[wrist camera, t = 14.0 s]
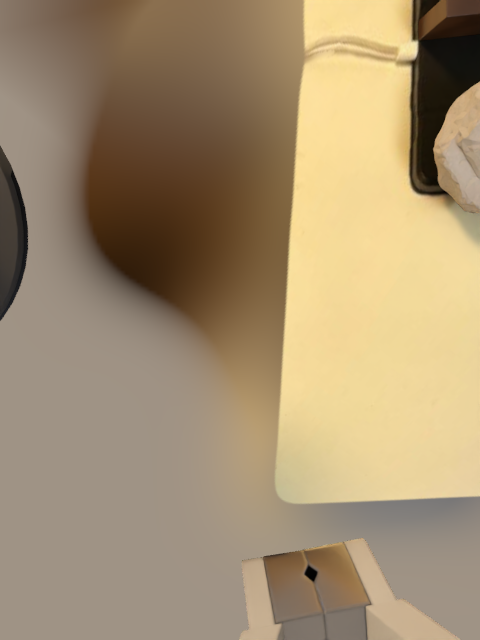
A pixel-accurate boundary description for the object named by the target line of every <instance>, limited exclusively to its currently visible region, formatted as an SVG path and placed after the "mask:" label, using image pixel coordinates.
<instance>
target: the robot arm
mask: <svg viewBox="0 0 480 640" xmlns="http://www.w3.org/2000/svg"><path fill="white" fill-rule="evenodd" d="M242 572H243V581H244V588H245V598H246V606H247V614H248V623H249V630H244V631H243V632H242V634H241V636H240V638H239V640H460V639H459V638H458V637H456V636H455V635H453V634H452V633H451V632H449V631H448V630H446V629H445V628H444V627H442V626H441V625H439V624H438V623H436V622H435V621H434V620H432V619H431V618H430V617H428V616H427V615H425V614H424V613H423V612H421V611H420V610H419V609H417V608H416V607H414V606H413V605H411V604H410V603H409V602H407V601H406V600H405V599H399V600H397V599H396V597H395V595H394V593H393V591H392V589H391V587H390V585H389V584H388V582H387V580H386V578H385V576H384V574H383V572H382V570H381V568H380V567H379V565H378V563H377V561H376V559H375V557H374V555H373V553H372V551H371V550H370V548H369V546H368V544H367V542H366V540H364V539H363V538H360V539H355V540H350V541H345V542H343V543H342V542H340V543H334V544H329V545H325V546H320V547H314V548H309V549H305V550H301V551H295V552H289V553H283V554H276V555H270V556H264V557H263V558H262V557H260V558H254V559H248V560H242Z"/></svg>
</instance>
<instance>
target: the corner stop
mask: <svg viewBox="0 0 480 640" xmlns="http://www.w3.org/2000/svg"><path fill="white" fill-rule="evenodd" d="M476 34H480V0H441V1H440V2H438V3H437V4H436V5H435V6H434V7H433V8H432V9H431V10H430V11H429V12H428V13H427V14H426V15H424V16H423V17H422V18H421V19H420V20H419V21H418V40H419V41H420V40H430V39H439V38H448V37H458V36H467V35H476Z"/></svg>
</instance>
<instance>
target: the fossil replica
mask: <svg viewBox="0 0 480 640" xmlns="http://www.w3.org/2000/svg"><path fill="white" fill-rule="evenodd" d="M433 151H434V158H435V163H436V165H437V168H438V182H439V185H440V187H441V188H442V189H443V190H445V191H446V192H447V193H448V194H450V195H451V196H452V197H453V198H454V199H455V201H456V202H457V203H458V204H459V205H460V206H461V207H462V208H463V209H464V210H465V211H467V212H472V213H480V82H479V83H477V84H475V85H474V86H473V87H471V88H470V89H469V90H467V91H466V92H465V93H464V94H462V95H461V96H460V97H458V98H457V99H456V100H455V102H454V103H453V104H452V106H451V107H450V108H449V111H448V113H447V115H446V119H445V122H444V124H443V126H442V128H441V130H440V132H439V134H438V135H437V138H436V140H435V146H434V148H433Z"/></svg>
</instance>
